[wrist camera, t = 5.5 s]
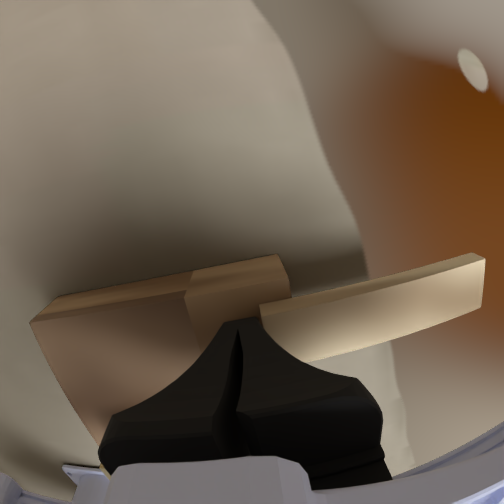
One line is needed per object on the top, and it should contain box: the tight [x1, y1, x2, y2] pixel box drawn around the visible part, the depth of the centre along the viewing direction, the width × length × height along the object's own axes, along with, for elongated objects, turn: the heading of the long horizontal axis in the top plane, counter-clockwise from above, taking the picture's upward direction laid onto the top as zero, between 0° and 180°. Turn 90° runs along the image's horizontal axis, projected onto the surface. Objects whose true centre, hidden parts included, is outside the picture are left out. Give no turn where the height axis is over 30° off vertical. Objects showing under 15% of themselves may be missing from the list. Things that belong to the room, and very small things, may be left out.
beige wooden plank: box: [259, 253, 485, 363], centre depth 12 cm, size 2×10×1 cm, turn 101°
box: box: [38, 254, 292, 354], centre depth 15 cm, size 12×12×3 cm
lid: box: [29, 290, 201, 480], centre depth 12 cm, size 12×8×4 cm, turn 11°
